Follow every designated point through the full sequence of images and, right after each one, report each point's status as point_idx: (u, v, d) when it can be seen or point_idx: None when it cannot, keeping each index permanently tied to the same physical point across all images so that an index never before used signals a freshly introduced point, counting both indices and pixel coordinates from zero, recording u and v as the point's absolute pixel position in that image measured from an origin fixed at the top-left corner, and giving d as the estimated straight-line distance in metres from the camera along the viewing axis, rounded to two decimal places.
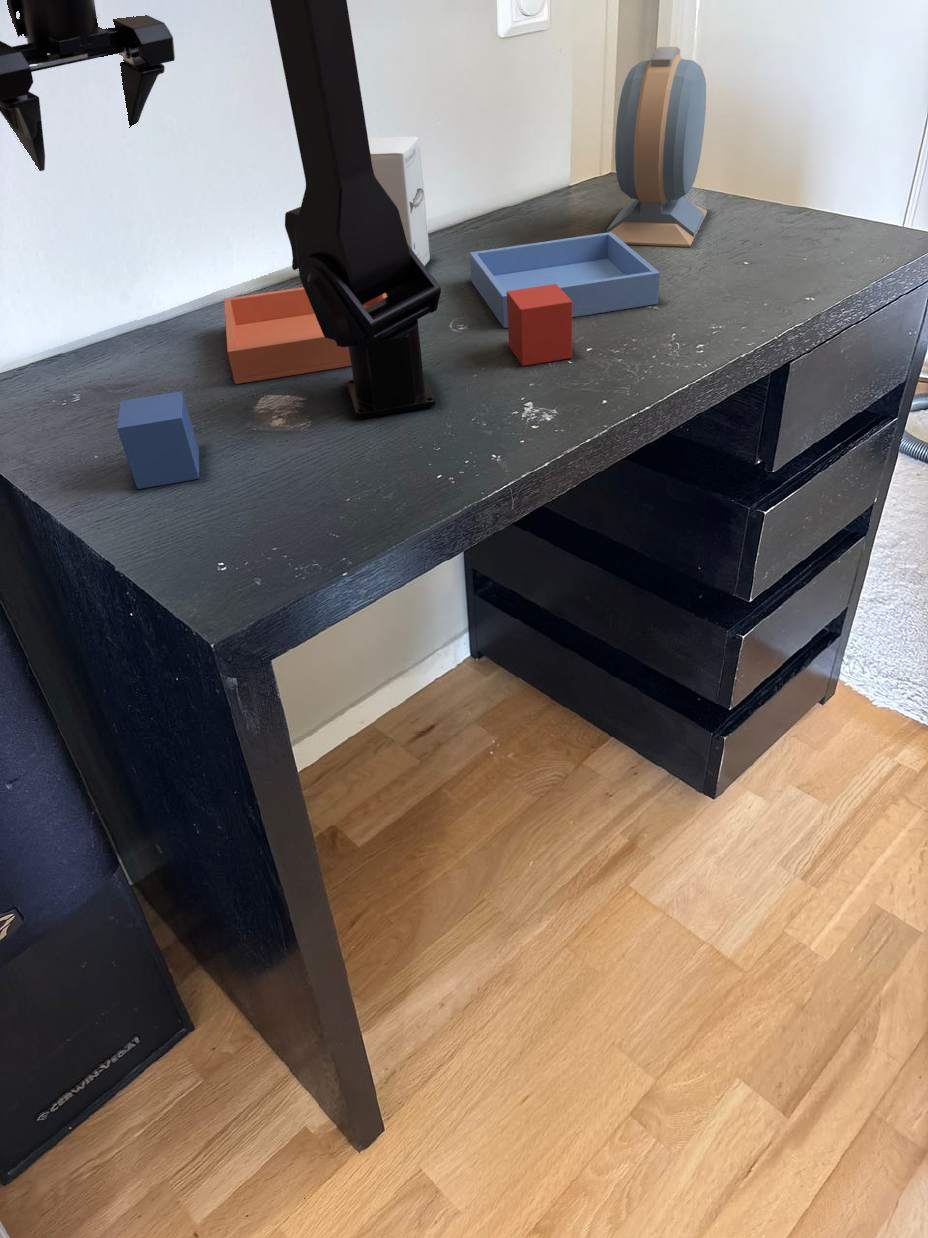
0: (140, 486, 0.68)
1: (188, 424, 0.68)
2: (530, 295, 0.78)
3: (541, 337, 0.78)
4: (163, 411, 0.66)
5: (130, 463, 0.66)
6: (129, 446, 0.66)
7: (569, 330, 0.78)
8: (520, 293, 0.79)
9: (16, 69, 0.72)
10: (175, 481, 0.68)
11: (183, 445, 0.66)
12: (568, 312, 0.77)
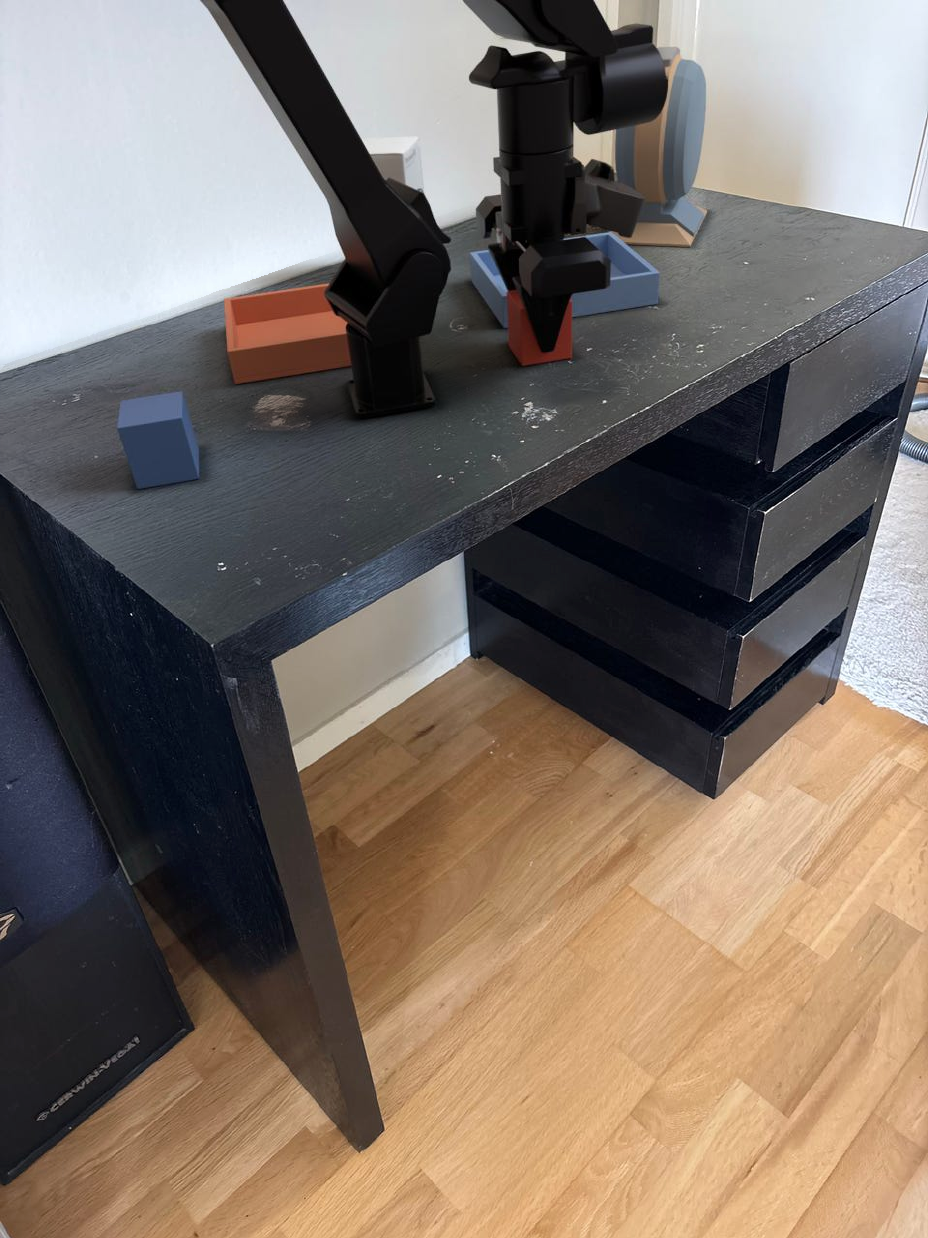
0: (140, 486, 0.68)
1: (188, 424, 0.68)
2: None
3: None
4: (163, 411, 0.66)
5: (130, 463, 0.66)
6: (129, 446, 0.66)
7: (569, 330, 0.78)
8: None
9: (482, 214, 0.80)
10: (175, 481, 0.68)
11: (183, 445, 0.66)
12: (568, 312, 0.77)
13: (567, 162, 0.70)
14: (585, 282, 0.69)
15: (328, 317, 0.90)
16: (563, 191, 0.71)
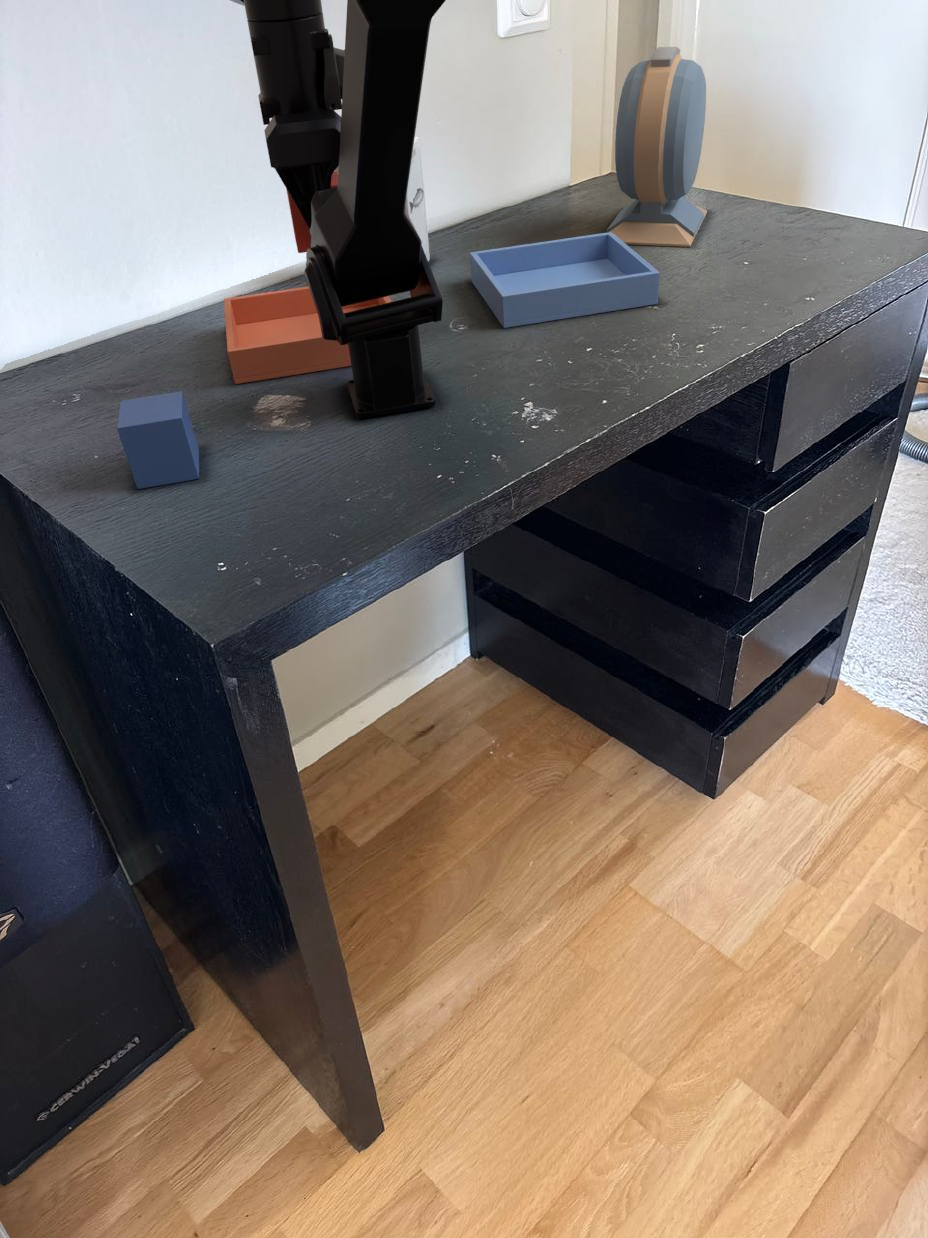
0: (140, 486, 0.68)
1: (188, 424, 0.68)
2: None
3: None
4: (163, 411, 0.66)
5: (130, 463, 0.66)
6: (129, 446, 0.66)
7: None
8: None
9: (259, 99, 0.79)
10: (175, 481, 0.68)
11: (183, 445, 0.66)
12: None
13: (312, 32, 0.69)
14: (324, 151, 0.68)
15: None
16: (312, 62, 0.70)
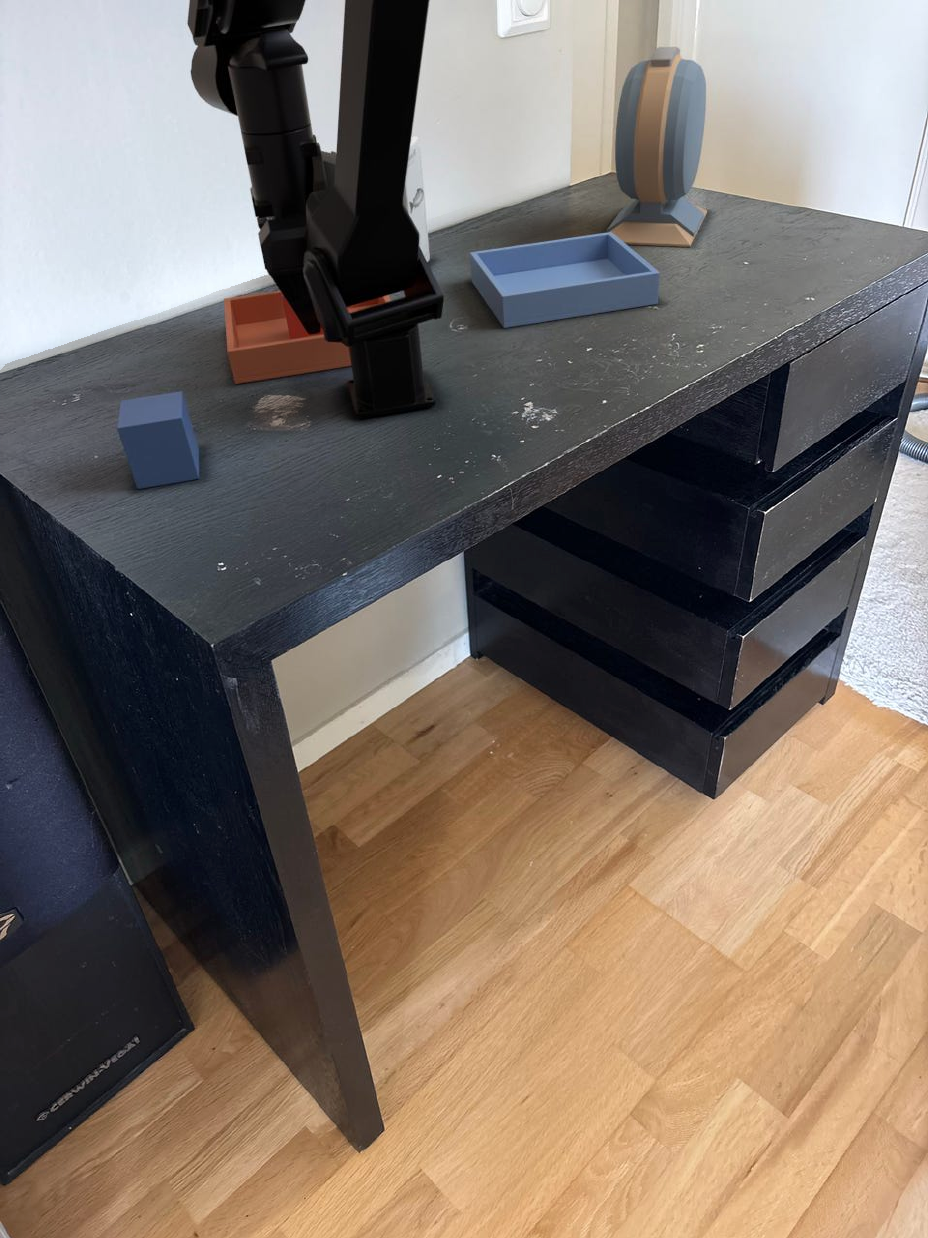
0: (140, 486, 0.68)
1: (188, 424, 0.68)
2: None
3: None
4: (163, 411, 0.66)
5: (130, 463, 0.66)
6: (129, 446, 0.66)
7: None
8: None
9: (251, 194, 0.84)
10: (175, 481, 0.68)
11: (183, 445, 0.66)
12: None
13: (302, 142, 0.74)
14: None
15: None
16: (302, 169, 0.75)
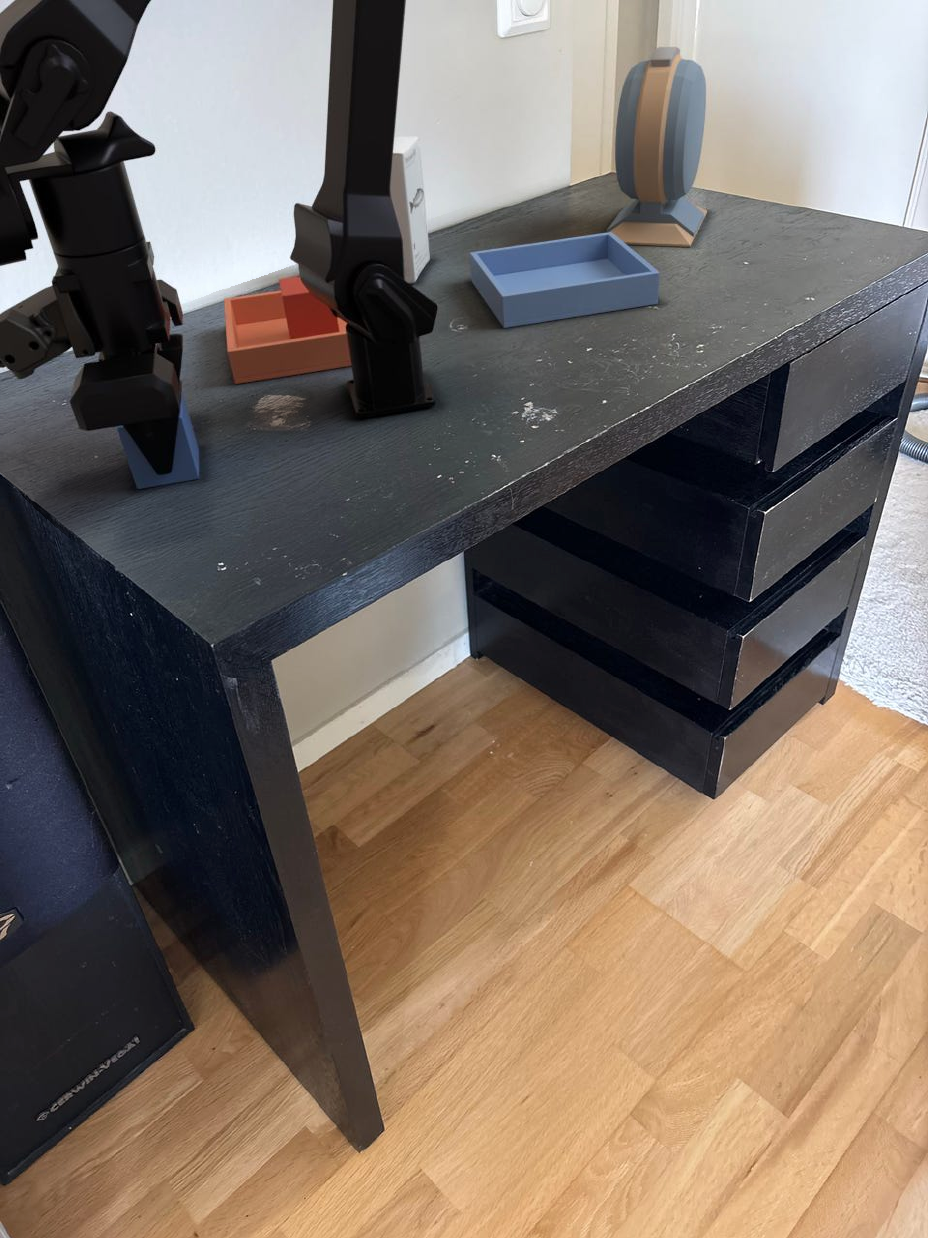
0: (140, 486, 0.68)
1: (188, 424, 0.68)
2: (298, 283, 0.83)
3: (307, 323, 0.83)
4: None
5: (130, 463, 0.66)
6: (129, 446, 0.66)
7: (334, 316, 0.83)
8: (289, 281, 0.84)
9: (171, 370, 0.59)
10: (175, 481, 0.68)
11: (183, 445, 0.66)
12: None
13: None
14: None
15: None
16: None
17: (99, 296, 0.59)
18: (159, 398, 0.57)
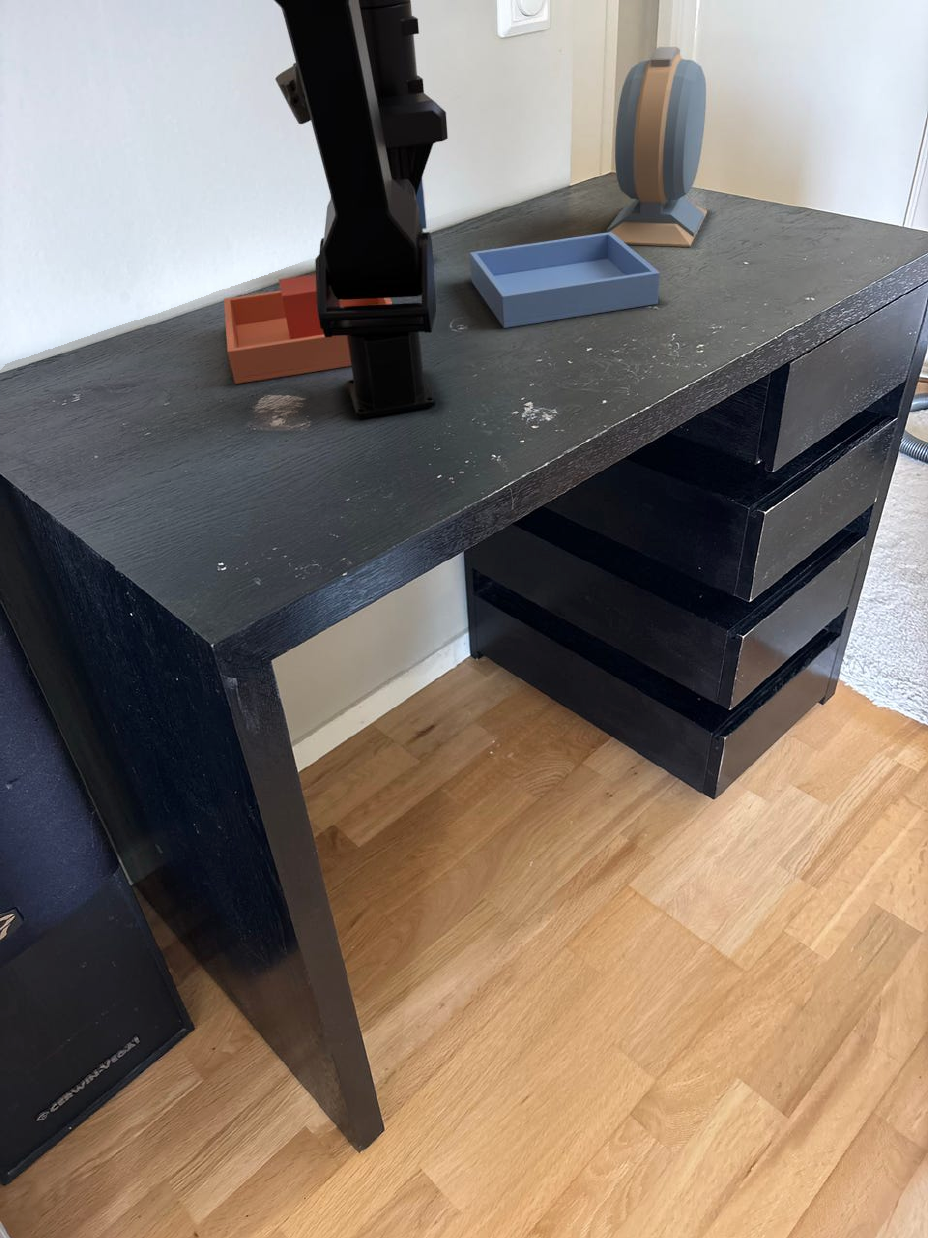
0: None
1: None
2: (298, 283, 0.83)
3: (307, 323, 0.83)
4: None
5: None
6: None
7: None
8: (289, 281, 0.84)
9: None
10: None
11: (418, 194, 0.80)
12: None
13: None
14: None
15: None
16: None
17: (378, 46, 0.72)
18: (436, 122, 0.70)
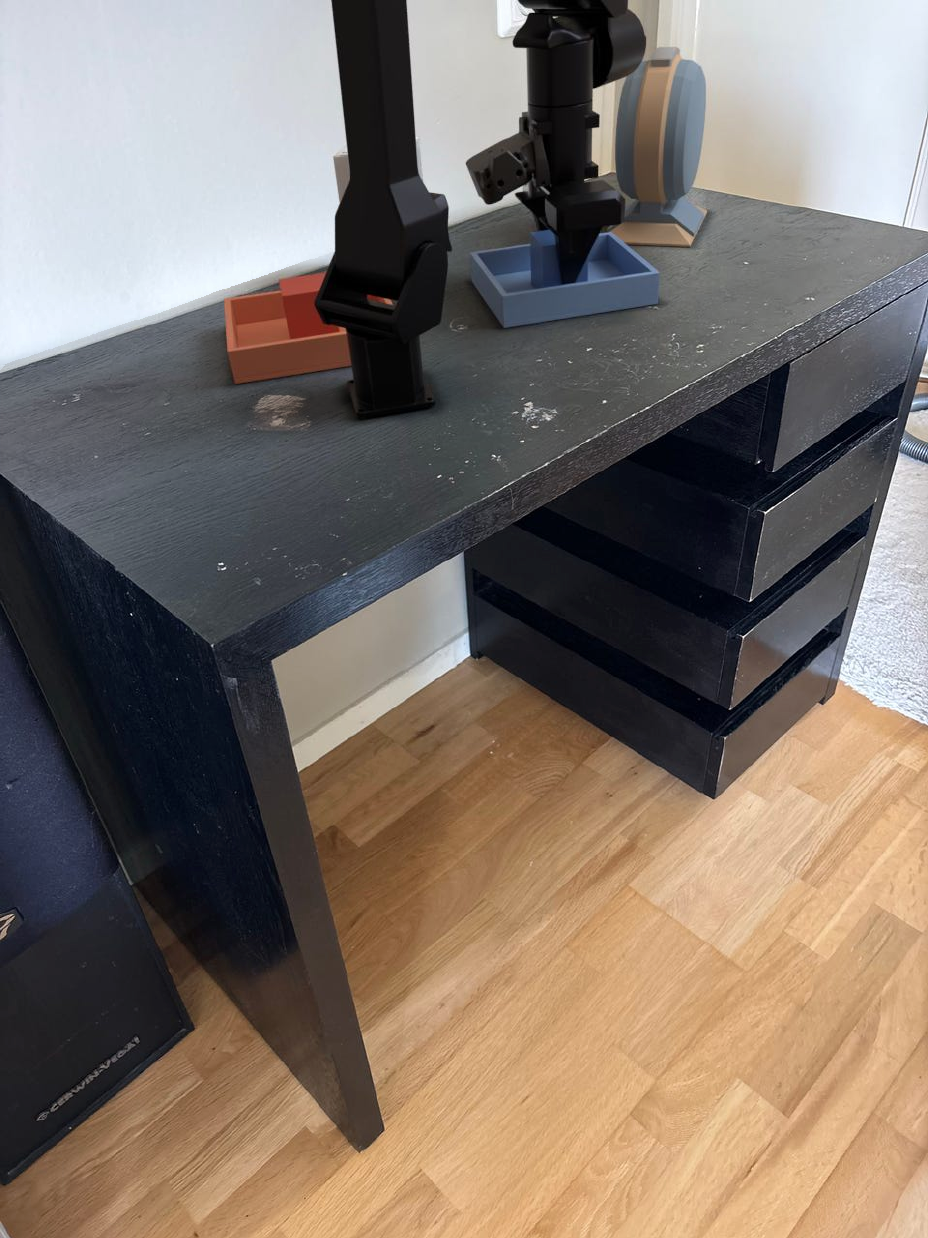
0: None
1: None
2: (298, 283, 0.83)
3: (307, 323, 0.83)
4: None
5: (544, 276, 0.88)
6: (547, 261, 0.88)
7: None
8: (289, 281, 0.84)
9: None
10: None
11: None
12: None
13: None
14: None
15: None
16: None
17: (564, 138, 0.81)
18: (617, 208, 0.79)
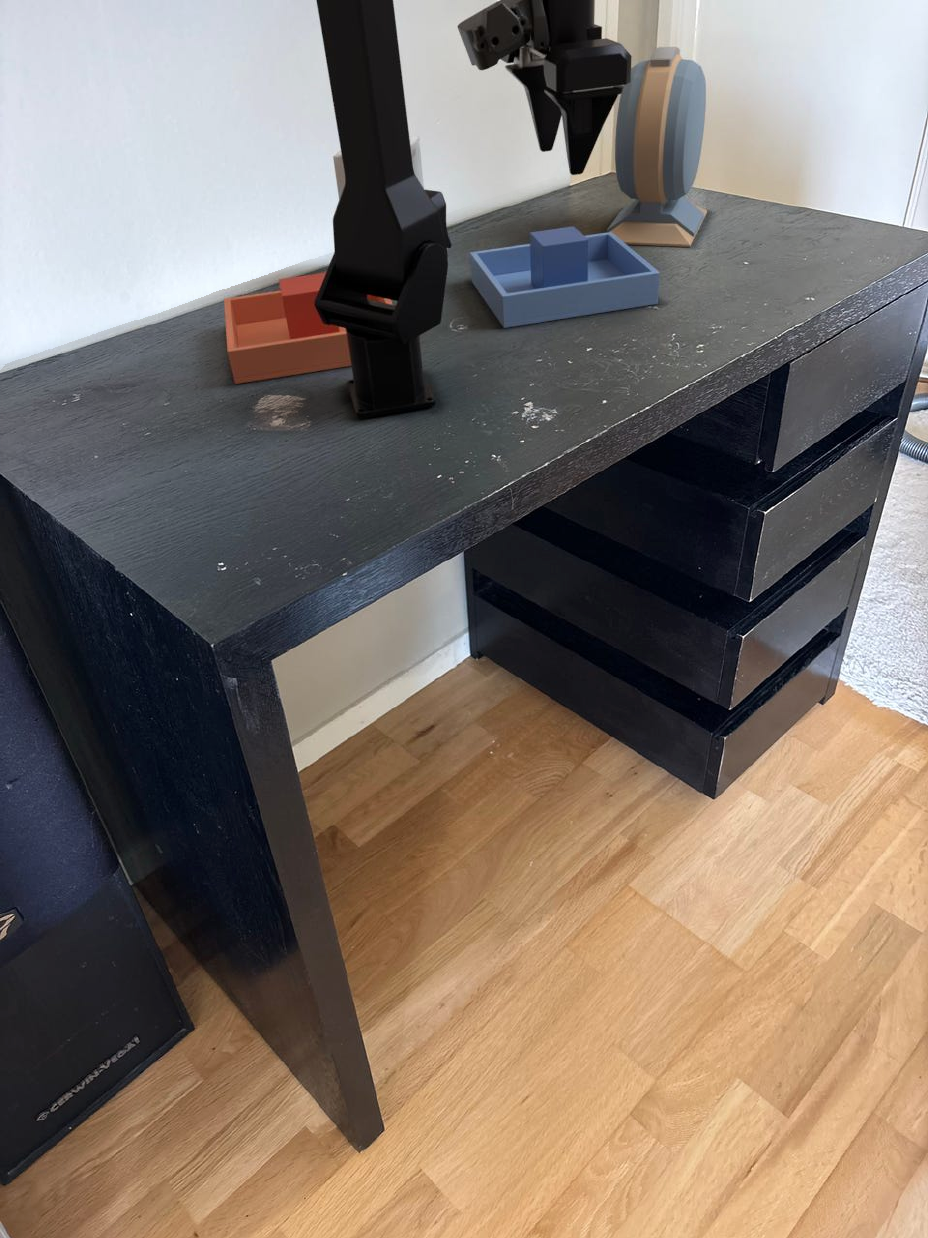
0: None
1: None
2: (298, 283, 0.83)
3: (307, 323, 0.83)
4: (570, 236, 0.88)
5: (544, 276, 0.88)
6: (547, 261, 0.88)
7: None
8: (289, 281, 0.84)
9: None
10: None
11: (583, 262, 0.88)
12: None
13: None
14: None
15: None
16: None
17: None
18: (622, 65, 0.72)
